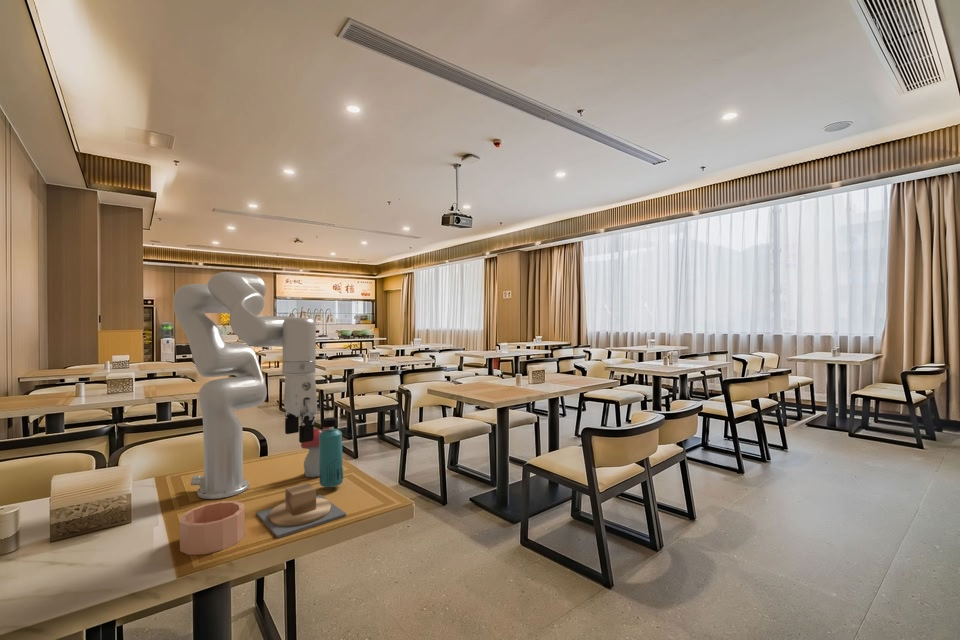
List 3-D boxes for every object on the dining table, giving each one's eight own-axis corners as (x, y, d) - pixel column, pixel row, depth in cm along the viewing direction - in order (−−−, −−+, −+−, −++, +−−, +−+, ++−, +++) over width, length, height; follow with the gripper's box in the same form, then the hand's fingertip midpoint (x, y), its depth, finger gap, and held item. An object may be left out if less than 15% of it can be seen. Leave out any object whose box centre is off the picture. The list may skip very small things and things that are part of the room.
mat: (277, 538, 96) (277, 535, 96) (256, 514, 108) (256, 512, 108) (346, 515, 107) (346, 513, 107) (320, 496, 119) (320, 494, 119)
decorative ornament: (332, 468, 141) (331, 422, 141) (334, 475, 135) (333, 426, 135) (300, 473, 138) (300, 425, 138) (301, 480, 132) (301, 430, 132)
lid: (340, 513, 107) (339, 489, 107) (279, 532, 98) (279, 505, 98) (318, 496, 118) (318, 474, 118) (262, 512, 108) (261, 487, 108)
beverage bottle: (338, 492, 122) (338, 420, 122) (315, 492, 122) (314, 420, 122) (346, 483, 128) (345, 415, 128) (324, 484, 128) (323, 415, 128)
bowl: (166, 555, 90) (166, 526, 90) (201, 527, 102) (201, 501, 102) (226, 553, 90) (226, 524, 90) (254, 526, 102) (254, 500, 102)
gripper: (328, 370, 104) (328, 442, 104) (301, 363, 117) (301, 427, 117) (296, 372, 99) (295, 448, 99) (271, 365, 112) (271, 432, 112)
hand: (298, 437), depth 108 cm, fingers open, 9 cm apart
